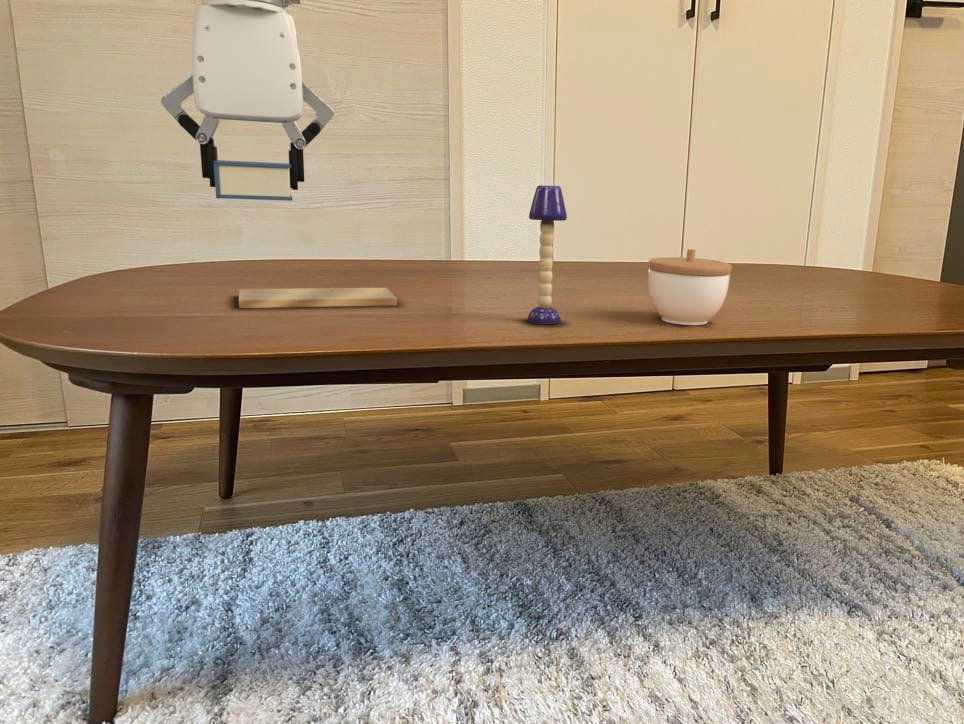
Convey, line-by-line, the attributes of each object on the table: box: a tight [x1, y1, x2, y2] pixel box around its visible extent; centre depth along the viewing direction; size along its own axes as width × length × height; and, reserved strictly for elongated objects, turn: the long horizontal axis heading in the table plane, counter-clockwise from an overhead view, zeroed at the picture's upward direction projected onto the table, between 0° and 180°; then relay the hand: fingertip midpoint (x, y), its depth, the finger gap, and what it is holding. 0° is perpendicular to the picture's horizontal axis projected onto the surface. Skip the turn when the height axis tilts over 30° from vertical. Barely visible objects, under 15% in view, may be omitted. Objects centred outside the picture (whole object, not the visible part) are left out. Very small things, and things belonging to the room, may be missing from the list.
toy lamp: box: [527, 185, 568, 325], centre depth 97 cm, size 5×5×17 cm
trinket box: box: [647, 248, 733, 326], centre depth 102 cm, size 11×11×9 cm
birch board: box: [238, 287, 398, 309], centre depth 106 cm, size 20×9×1 cm, turn 109°
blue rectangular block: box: [213, 159, 293, 202], centre depth 80 cm, size 10×7×3 cm
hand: (254, 186), depth 80 cm, fingers closed on blue rectangular block, 7 cm apart
